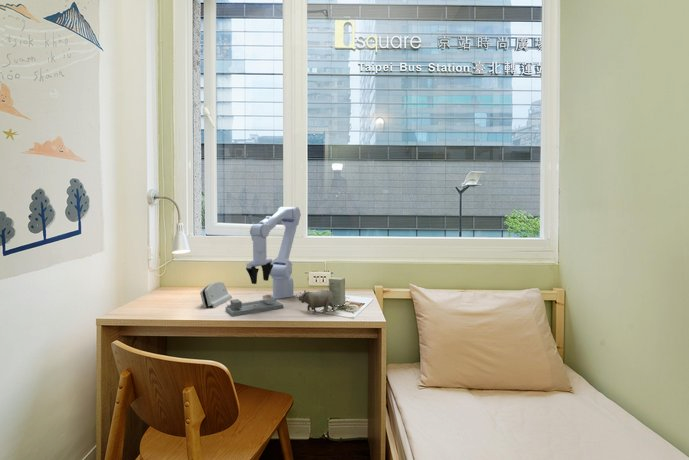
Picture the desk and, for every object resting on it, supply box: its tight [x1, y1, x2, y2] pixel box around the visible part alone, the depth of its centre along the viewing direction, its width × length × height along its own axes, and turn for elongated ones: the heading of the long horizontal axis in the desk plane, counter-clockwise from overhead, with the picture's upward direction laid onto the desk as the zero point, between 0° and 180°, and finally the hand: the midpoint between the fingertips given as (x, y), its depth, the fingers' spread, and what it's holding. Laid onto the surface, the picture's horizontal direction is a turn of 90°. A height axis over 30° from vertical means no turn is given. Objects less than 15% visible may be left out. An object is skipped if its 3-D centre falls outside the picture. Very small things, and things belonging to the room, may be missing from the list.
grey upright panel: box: [199, 281, 233, 309], centre depth 167 cm, size 17×5×10 cm, turn 170°
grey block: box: [262, 294, 274, 304], centre depth 161 cm, size 3×5×4 cm, turn 34°
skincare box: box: [328, 276, 346, 307], centre depth 165 cm, size 6×4×12 cm
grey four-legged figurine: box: [296, 289, 336, 315], centre depth 155 cm, size 8×14×15 cm
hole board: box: [225, 298, 284, 317], centre depth 157 cm, size 22×9×5 cm, turn 124°
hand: (260, 282), depth 164 cm, fingers open, 7 cm apart
